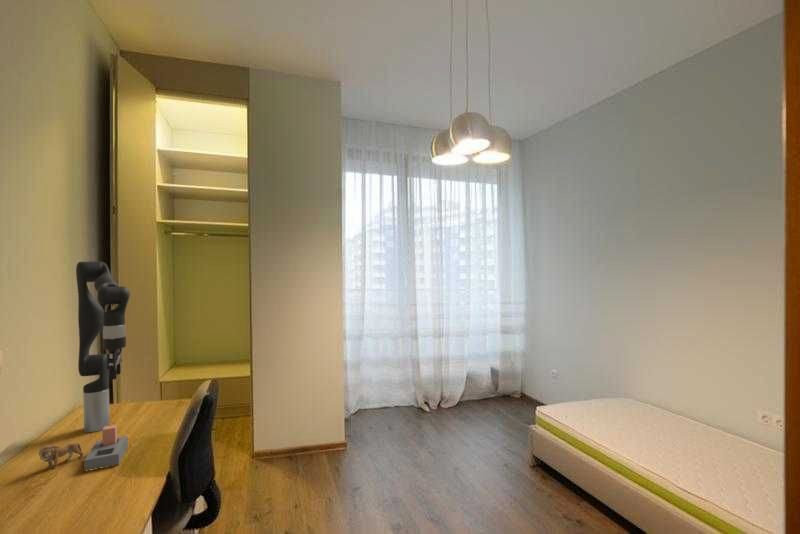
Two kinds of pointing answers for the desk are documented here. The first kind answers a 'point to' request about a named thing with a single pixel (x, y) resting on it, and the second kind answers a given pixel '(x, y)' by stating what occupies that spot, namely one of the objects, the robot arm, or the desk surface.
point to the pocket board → (106, 454)
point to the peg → (109, 435)
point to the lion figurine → (59, 453)
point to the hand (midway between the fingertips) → (115, 376)
